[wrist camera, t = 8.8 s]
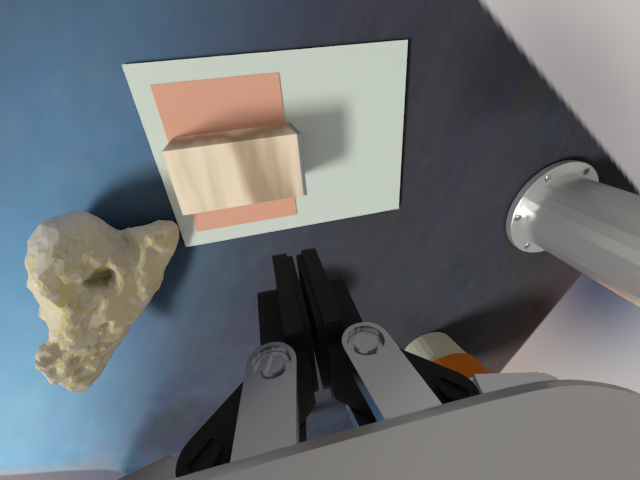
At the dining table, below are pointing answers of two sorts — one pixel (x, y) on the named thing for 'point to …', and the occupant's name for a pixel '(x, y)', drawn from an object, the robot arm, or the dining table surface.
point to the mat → (286, 107)
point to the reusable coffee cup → (446, 354)
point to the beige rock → (92, 289)
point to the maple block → (236, 167)
